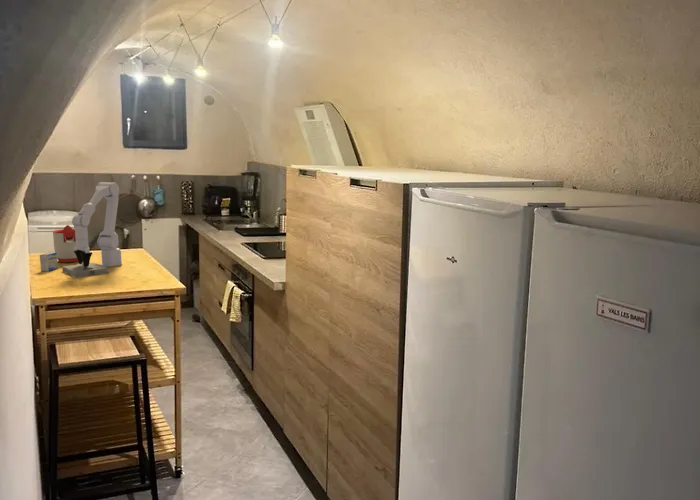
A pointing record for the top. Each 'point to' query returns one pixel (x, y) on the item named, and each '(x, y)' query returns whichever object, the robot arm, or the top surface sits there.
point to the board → (85, 270)
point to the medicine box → (48, 261)
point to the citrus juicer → (65, 244)
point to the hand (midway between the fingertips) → (83, 265)
